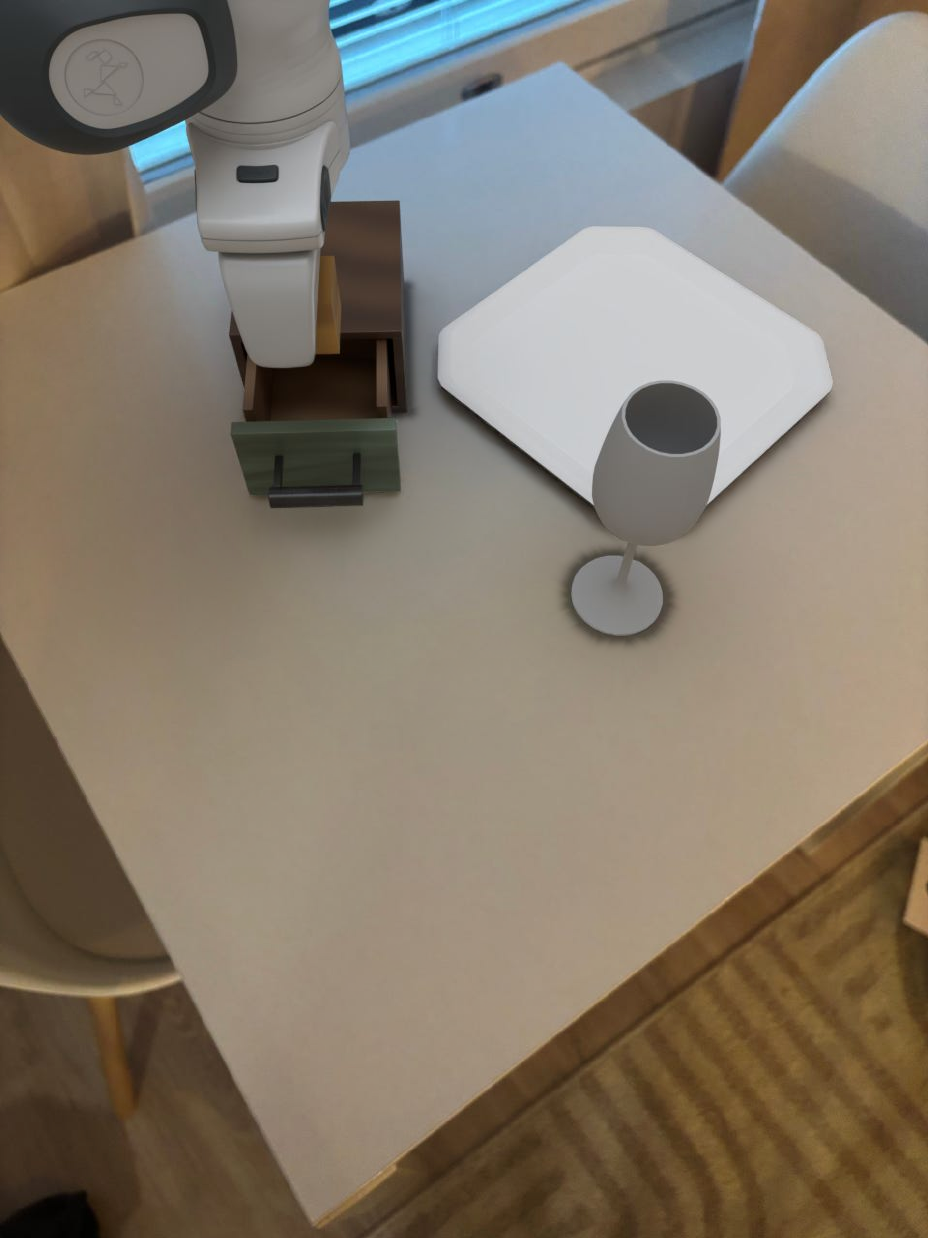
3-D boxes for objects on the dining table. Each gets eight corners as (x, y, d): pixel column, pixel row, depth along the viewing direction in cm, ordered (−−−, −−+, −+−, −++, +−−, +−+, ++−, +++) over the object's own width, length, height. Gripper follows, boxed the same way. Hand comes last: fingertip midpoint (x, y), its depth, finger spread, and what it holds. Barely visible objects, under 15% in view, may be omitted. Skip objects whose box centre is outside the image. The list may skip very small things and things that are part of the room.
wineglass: (638, 543, 77) (697, 356, 58) (681, 620, 73) (759, 447, 55) (553, 571, 75) (586, 388, 57) (593, 651, 72) (642, 484, 53)
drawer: (401, 538, 75) (396, 478, 69) (245, 543, 75) (225, 483, 68) (399, 360, 85) (394, 292, 78) (260, 363, 84) (243, 295, 77)
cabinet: (407, 412, 83) (402, 330, 74) (251, 416, 82) (228, 334, 74) (404, 286, 90) (399, 199, 82) (261, 289, 90) (242, 202, 81)
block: (274, 355, 65) (262, 304, 61) (278, 308, 67) (266, 256, 63) (339, 353, 65) (332, 303, 61) (341, 307, 67) (334, 255, 63)
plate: (613, 221, 95) (616, 202, 93) (854, 376, 85) (863, 359, 84) (403, 371, 85) (402, 353, 83) (650, 566, 75) (655, 551, 74)
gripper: (227, 17, 57) (267, 212, 69) (193, 249, 48) (246, 429, 60) (331, 16, 57) (352, 210, 70) (318, 246, 48) (346, 426, 60)
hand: (303, 313), depth 65 cm, fingers closed on block, 4 cm apart
